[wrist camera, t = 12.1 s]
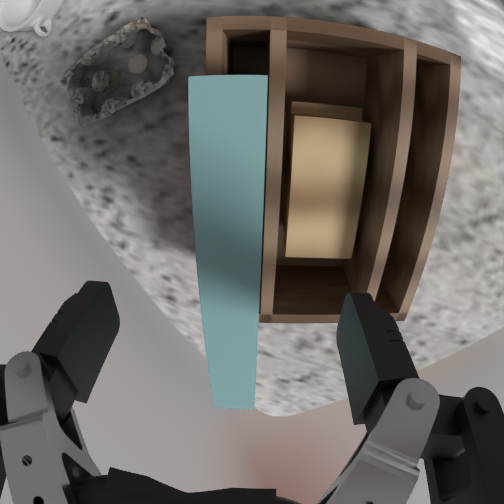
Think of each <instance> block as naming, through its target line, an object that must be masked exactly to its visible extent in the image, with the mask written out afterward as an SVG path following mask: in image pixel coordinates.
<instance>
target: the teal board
mask: <svg viewBox="0 0 504 504" xmlns="http://www.w3.org/2000/svg"><path fill="white" fill-rule="evenodd" d="M267 84H268V75H208V76H189V77H188V102H189V147H190V172H191V192H192V209H193V225H194V239H195V251H196V263H197V275H198V285H199V295H200V305H201V315H202V324H203V332H204V341H205V349H206V357H207V364H208V371H209V378H210V386H211V392H212V400H213V406H214V407H215V408H229V409H251V410H252V409H253V410H254V403H255V384H256V364H257V344H258V323H259V301H260V279H261V255H262V231H263V205H264V178H265V149H266V118H267Z"/></svg>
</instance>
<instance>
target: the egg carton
mask: <svg viewBox="0 0 504 504" xmlns="http://www.w3.org/2000/svg"><path fill="white" fill-rule="evenodd" d="M143 29H145V30H147V31H150V32H151V33H153V34H155V35H157V36H156V37H155V38H154V39H153V41H152V42H151V52H152V53H153V54H154V55H155V56H157V57H161V58H165V59H168V60H169V63H168V64H167V65H166V66H165V67H164V68H163V71H162V77H161V80H160V81H159V82H156V81H151V80H142V81H140V82H138V83H137V84H135V85H132V89H131V92H130V93H131V95H132V97H133V98H132V99H129V98H127V97H118V98H111V99H107V100H106V101H105V102H104V103H103V105H102V106H101V107H102V110H101V111H100V112H101V113H95V114H94V113H93V111H92V108H91V107H92V104H93V102H94V100H95V92H94V90H95V91H97V92H109V91H113V90H115V89H116V88H117V87H118V86H119V84H120V80H121V78H120V75H119V73H118V72H117V71H114V70H104V69H100V70H99V71H98V72H97V73H95V74H94V76H93V79H92V88H90V87H83V88H82V87H81V85H80V80H81V79H82V77H83V75H84V67H85V66H86V65H87V66H100V65H103V64H104V63H105V62H106V61H107V59H108V57H109V51H110V50H111V49H112V48H113V47H118V48H129V47H131V46H132V45H133V44H134V43H135V41H136V38H137V33H138V32H139V31H141V30H143ZM165 48H166V44H165V42H164V39H163V36H162V34H161V31H159V30H157V29H154V28H151V26H150V23H149V22H148V20H147V18H146V17H141V18H139V19H137V20H135V21H132V22H130V23H129V24H127V25H125V26H123V27H122V28H120V29H119V30H117V31H116V33H115V34H113V35H111V36H109V37H108V38H106V39H104V40H103V41H102V42H101V43H99V44H97V45H96V46H95V47H93V48H91V49H90V50H88V51H87V52H86V53H85V54H84V55H83V56H82V57H81V58H80V59H79V61H78V62H76V63H75V65H74V66H73V68H71V69H69V70H68V71H66V72H65V74H64V76H63V77H64V79H65V80H66V81H67V83H68V88H67V91H68V92H69V93H70V95H71V101H72V103H73V106H74V110H75V111H76V113H77V114H78V119H79V122H80V125H81V127H85V126H88V125H90V124H93V123H95V122H97V121H99V120H101V119H104V118H107V117H109V116H111V115H112V114H113V113H114V112H115V111H117V110H119V109H122V108H124V107H125V106H127V105H129V104H131V103H133V102H135V101H137V100H140V99H142V98H144V97H145V96H147V95H149V94H150V93H152V92H154V91H155V90H157V89H159V88H160V87H161V86H163V85H165V84H167V83H169V82H170V77H171V76H173V75H174V71H173V68H174V67H175V62H174V59H173V58H172V57H169V56H168V55H167V54H166V53H165V52H164V51H163V50H164V49H165ZM148 64H149V60H148V58H147V56H145V55H144V54H139V53H138V54H135V55H134V56H132V57H131V58H130V60H129V62H128V70H129V71H130V72H131V73H133V74H141V73H143V72H144V71H145V70H146V69H147V67H148Z"/></svg>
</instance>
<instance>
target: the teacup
mask: <svg viewBox="0 0 504 504" xmlns="http://www.w3.org/2000/svg"><path fill="white" fill-rule="evenodd" d="M63 2H64V0H0V27H1V28H2V29H3V30H4V31H7V32H17V31H32V30H34V31H35V32H36V33H37V34H38V35H39V36H41V37H44V38H45V37H48V36H49V35H50V34H51V31H52V19H53V18H54V17H55V16H56V14H57V13H58V12H59V10H60V9H61V7H62V5H63ZM40 27H45V28H46V30H47V33H46V32H43V31H42V30H41V29H40Z"/></svg>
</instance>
